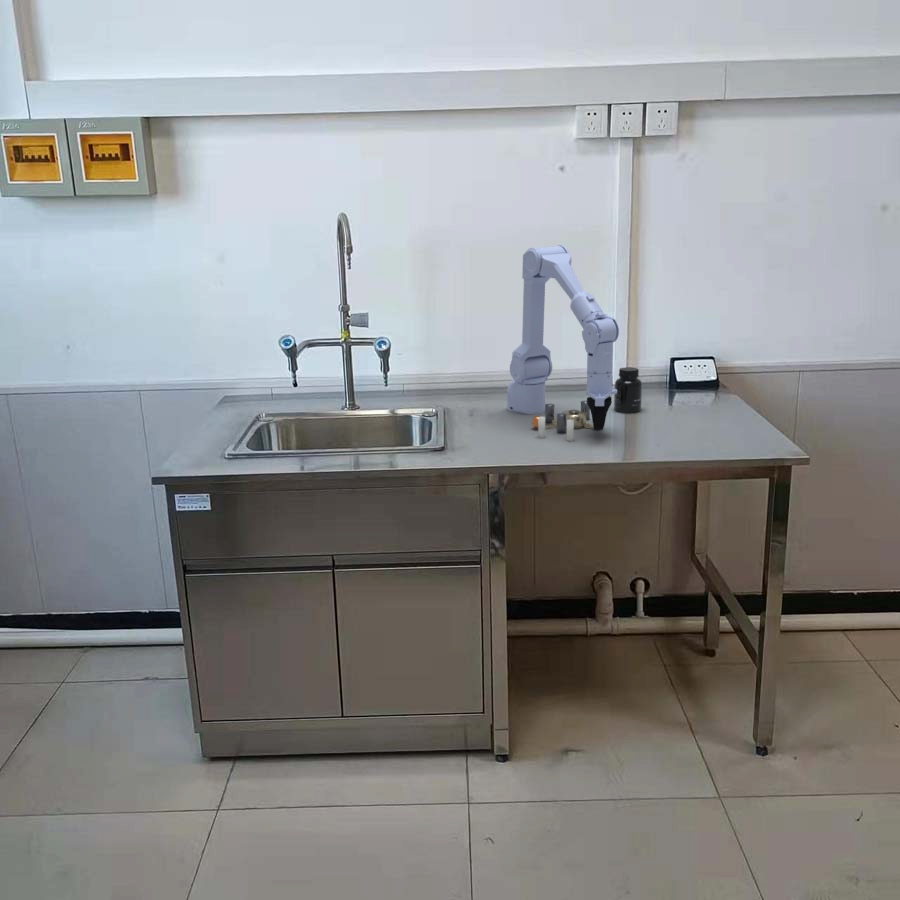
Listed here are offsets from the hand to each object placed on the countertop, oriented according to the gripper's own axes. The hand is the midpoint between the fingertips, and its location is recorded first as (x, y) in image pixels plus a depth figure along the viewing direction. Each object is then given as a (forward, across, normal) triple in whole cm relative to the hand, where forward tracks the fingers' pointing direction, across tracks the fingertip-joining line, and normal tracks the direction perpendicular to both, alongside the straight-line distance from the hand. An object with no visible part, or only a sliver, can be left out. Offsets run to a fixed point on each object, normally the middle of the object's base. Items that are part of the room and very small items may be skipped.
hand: (598, 428), depth 206 cm
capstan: (+2, +8, +6) cm, 10 cm away
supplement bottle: (+3, +22, -8) cm, 24 cm away
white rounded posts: (+2, -1, +9) cm, 9 cm away
